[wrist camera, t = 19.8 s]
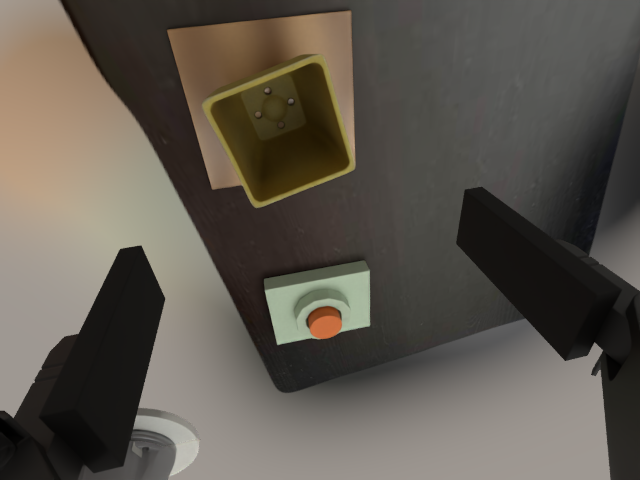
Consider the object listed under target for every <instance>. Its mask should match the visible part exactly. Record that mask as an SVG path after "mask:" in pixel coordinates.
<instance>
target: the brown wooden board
mask: <svg viewBox="0 0 640 480" xmlns="http://www.w3.org/2000/svg"><path fill="white" fill-rule="evenodd" d="M167 33H168V36H169V40H170V43H171V47H172V50H173V54H174V57H175V61H176V64H177V68H178V71H179V75H180V78H181V82H182V85H183V89H184V92H185V96H186V99H187V103H188V106H189V110H190V114H191V117H192V121H193V124H194V128H195V131H196V135H197V138H198V142H199V145H200V149H201V152H202V156H203V159H204V163H205V166H206V170H207V173H208V177H209V180H210V184H211V187H212V190H213V189H219V188H226V187H232V186H239V185H242V184H241V182H240V180H239V177H238V175H237V173H236V171H235V169H234V167H233V165H232V163H231V161H230V159H229V157H228V155H227V154H226V152H225V150H224V148H223V146H222V144H221V143H220V141H219V139H218V137H217V135H216V133H215V132H214V130H213V128H212V126H211V124H210V123H209V121H208V119H207V117H206V115H205V113H204V111H203V109H202V102H203V101H204V100H205V99H206V98H207V97H208V96H209V95H210V94H211V93H212V92H213V91H215V90H216V89H217V88H219V87H222V86H225V85H227V84H230V83H233V82H235V81H238V80H240V79H243V78H246V77H248V76H251V75H253V74H256V73H258V72H261V71H263V70H266V69H268V68H271V67H273V66H276V65H278V64H280V63H283V62H285V61H288V60H290V59H292V58H294V57H297V56H299V55H303V54H322V55H323V56H324V57H325V59H326V62H327V65H328V68H329V71H330V75H331V78H332V82H333V86H334V90H335V94H336V97H337V101H338V105H339V108H340V112H341V115H342V118H343V122H344V126H345V129H346V133H347V136H348V140H349V143H350V146H351V150H352V153H353V157H354V160H355V132H354V96H353V60H352V23H351V10H346V11H337V12H327V13H318V14H308V15H299V16H290V17H280V18H271V19H261V20H252V21H242V22H233V23H224V24H214V25H205V26H195V27H186V28H177V29H168V30H167ZM264 91H265V93H266V94H270V92H271V90H270V88H268V87H267V88H265V90H264ZM293 103H294V100H293V99H289V100H288V104H289V105H293ZM255 116H256V117H257V118H260V117H261V113H260V112H256V113H255ZM283 126H284V123H283V122H279V123H278V127H280V128H282V127H283Z"/></svg>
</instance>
